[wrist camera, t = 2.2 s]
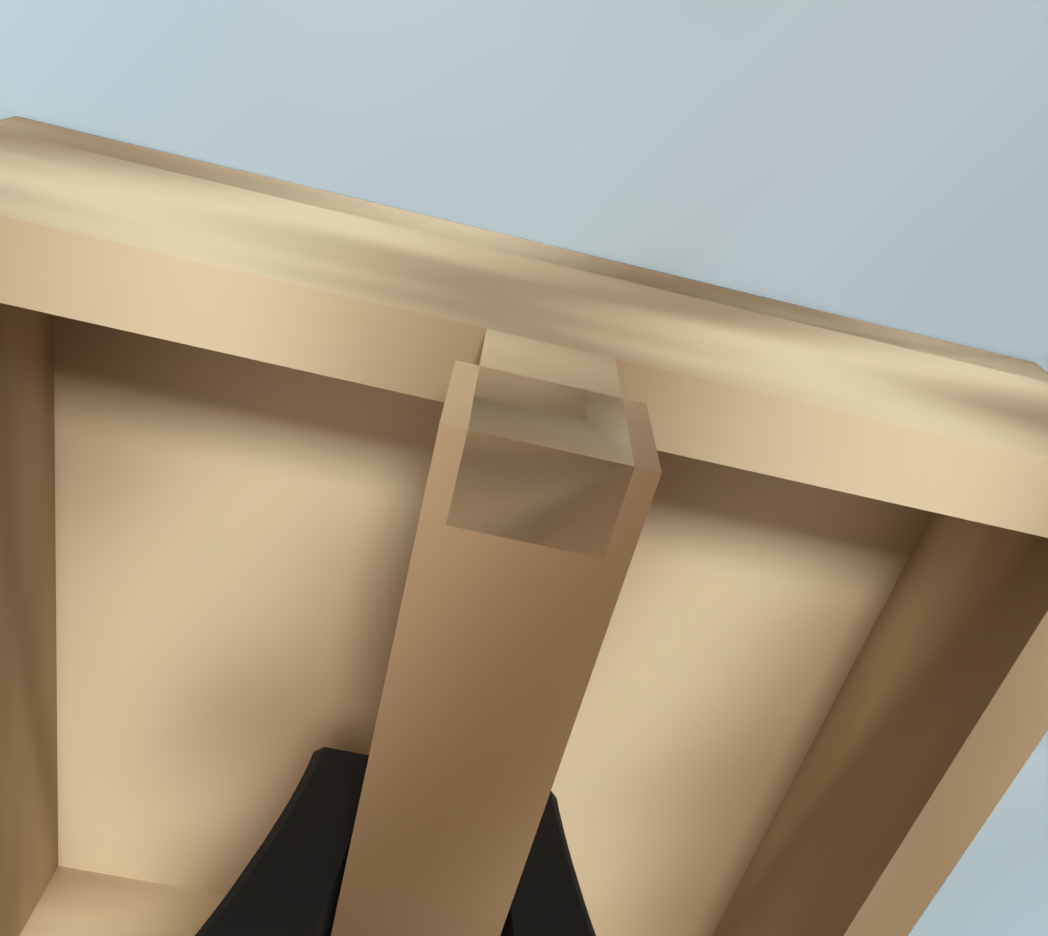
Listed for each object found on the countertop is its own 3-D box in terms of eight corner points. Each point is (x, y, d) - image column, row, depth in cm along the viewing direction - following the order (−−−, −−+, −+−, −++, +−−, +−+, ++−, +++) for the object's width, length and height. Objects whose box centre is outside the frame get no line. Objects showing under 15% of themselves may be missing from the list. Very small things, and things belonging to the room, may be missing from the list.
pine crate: (1035, 362, 12) (1382, 633, 7) (712, 968, 18) (774, 1344, 13) (15, 115, 11) (-440, 227, 6) (34, 849, 17) (-182, 1212, 12)
